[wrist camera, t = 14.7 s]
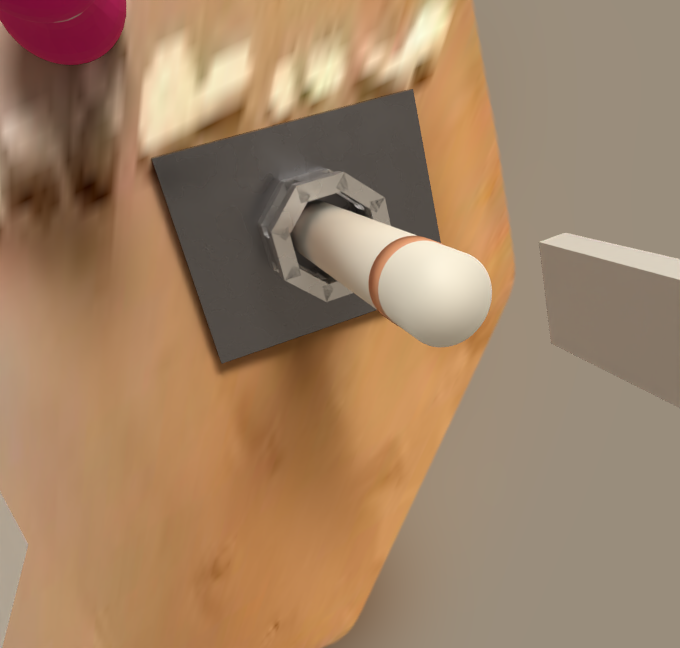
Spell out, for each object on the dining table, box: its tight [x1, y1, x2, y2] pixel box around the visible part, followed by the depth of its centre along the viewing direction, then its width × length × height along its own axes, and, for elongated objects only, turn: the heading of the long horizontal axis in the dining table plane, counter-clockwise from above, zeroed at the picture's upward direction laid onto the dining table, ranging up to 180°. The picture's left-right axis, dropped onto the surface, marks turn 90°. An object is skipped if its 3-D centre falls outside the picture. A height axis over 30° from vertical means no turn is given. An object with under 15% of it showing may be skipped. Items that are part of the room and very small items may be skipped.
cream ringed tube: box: [290, 201, 492, 347], centre depth 37 cm, size 4×4×22 cm
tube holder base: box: [151, 89, 441, 363], centre depth 46 cm, size 20×16×6 cm
